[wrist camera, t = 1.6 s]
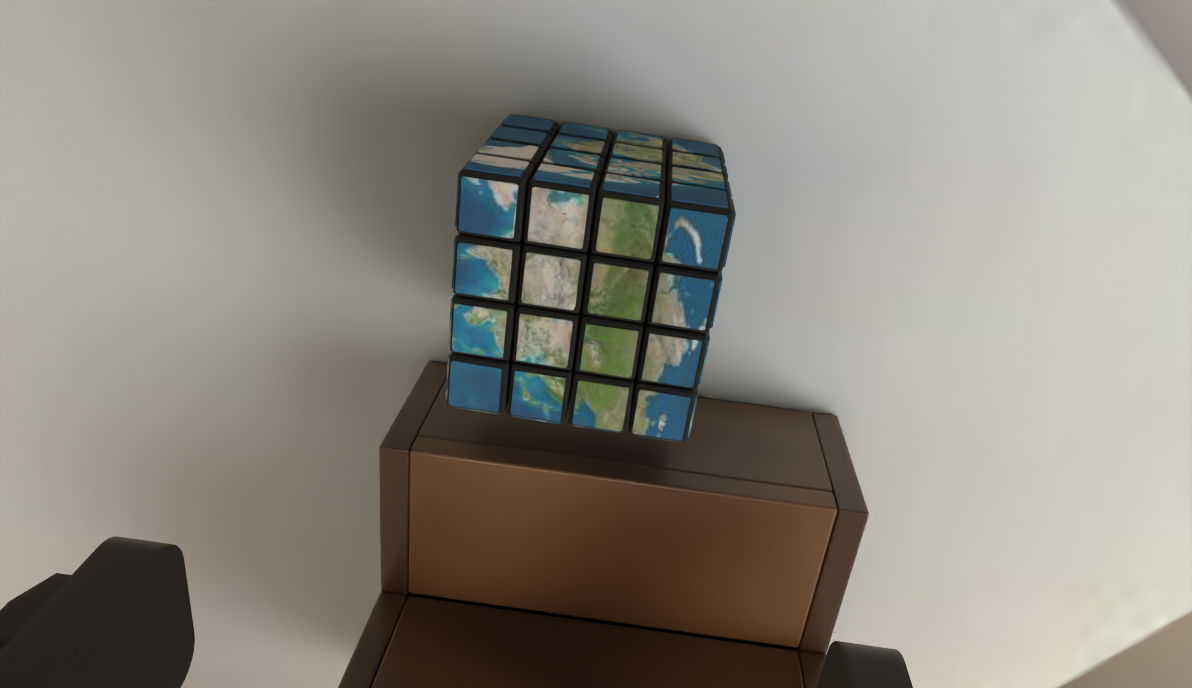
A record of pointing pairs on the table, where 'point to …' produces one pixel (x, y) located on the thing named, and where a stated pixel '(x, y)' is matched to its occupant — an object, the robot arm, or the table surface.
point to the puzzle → (587, 276)
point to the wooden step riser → (608, 550)
